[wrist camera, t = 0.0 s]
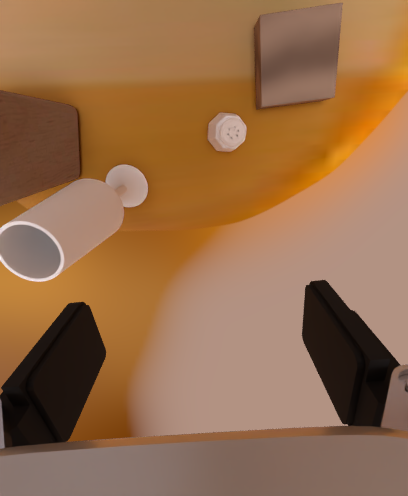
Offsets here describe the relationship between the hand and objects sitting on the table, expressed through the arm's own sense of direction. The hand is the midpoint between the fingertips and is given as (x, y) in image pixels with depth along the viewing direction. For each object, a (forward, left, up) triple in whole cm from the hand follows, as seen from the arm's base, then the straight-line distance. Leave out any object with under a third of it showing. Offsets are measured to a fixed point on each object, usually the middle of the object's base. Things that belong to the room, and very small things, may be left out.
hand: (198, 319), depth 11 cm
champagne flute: (-1, -12, -31) cm, 34 cm away
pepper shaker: (-7, +4, -31) cm, 32 cm away
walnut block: (-14, +13, -32) cm, 37 cm away
